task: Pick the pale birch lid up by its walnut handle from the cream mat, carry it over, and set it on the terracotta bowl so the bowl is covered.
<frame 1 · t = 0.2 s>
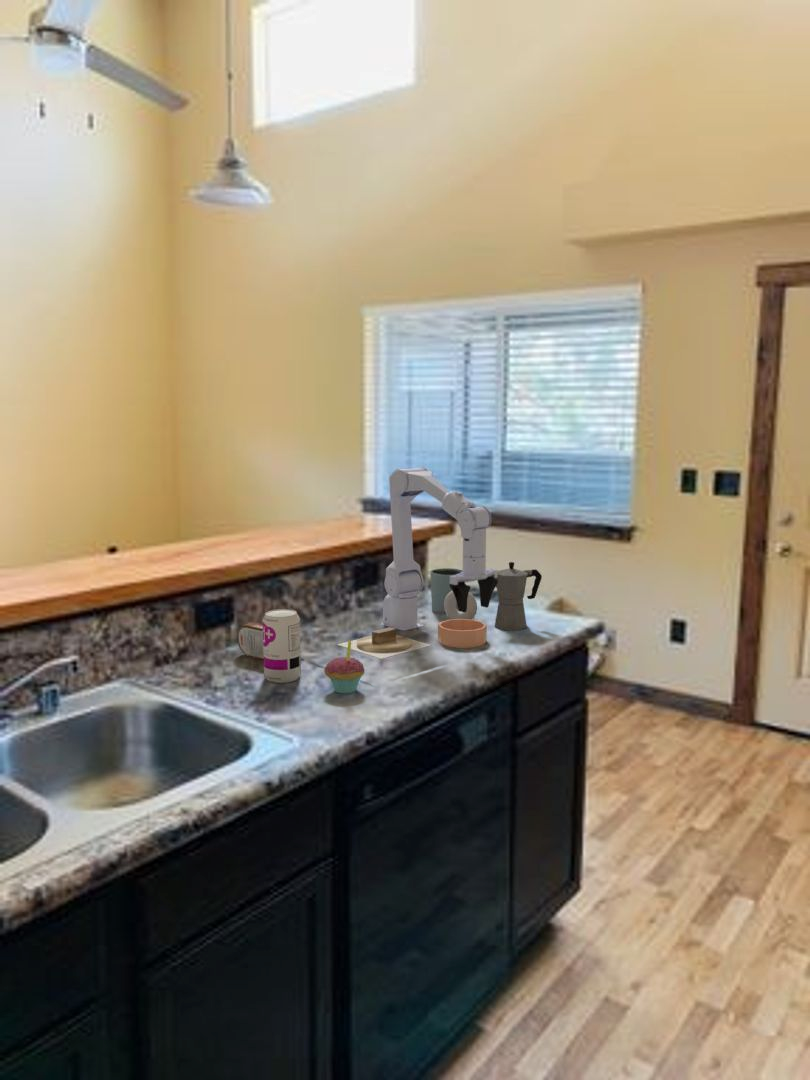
hand: (473, 609, 214), 10 cm above the worktop, tool pointing down, fingers open, 7 cm apart
cupcake: (344, 691, 184), on the worktop
mat: (384, 647, 217), on the worktop
donut: (460, 624, 240), on the worktop
bowl: (462, 643, 220), on the worktop
teal cup: (447, 611, 255), on the worktop
coffeepot: (514, 626, 237), on the worktop
supplement can: (282, 678, 193), on the worktop
lid: (384, 644, 217), point 1 cm above the worktop, touching mat
tin: (262, 659, 208), on the worktop
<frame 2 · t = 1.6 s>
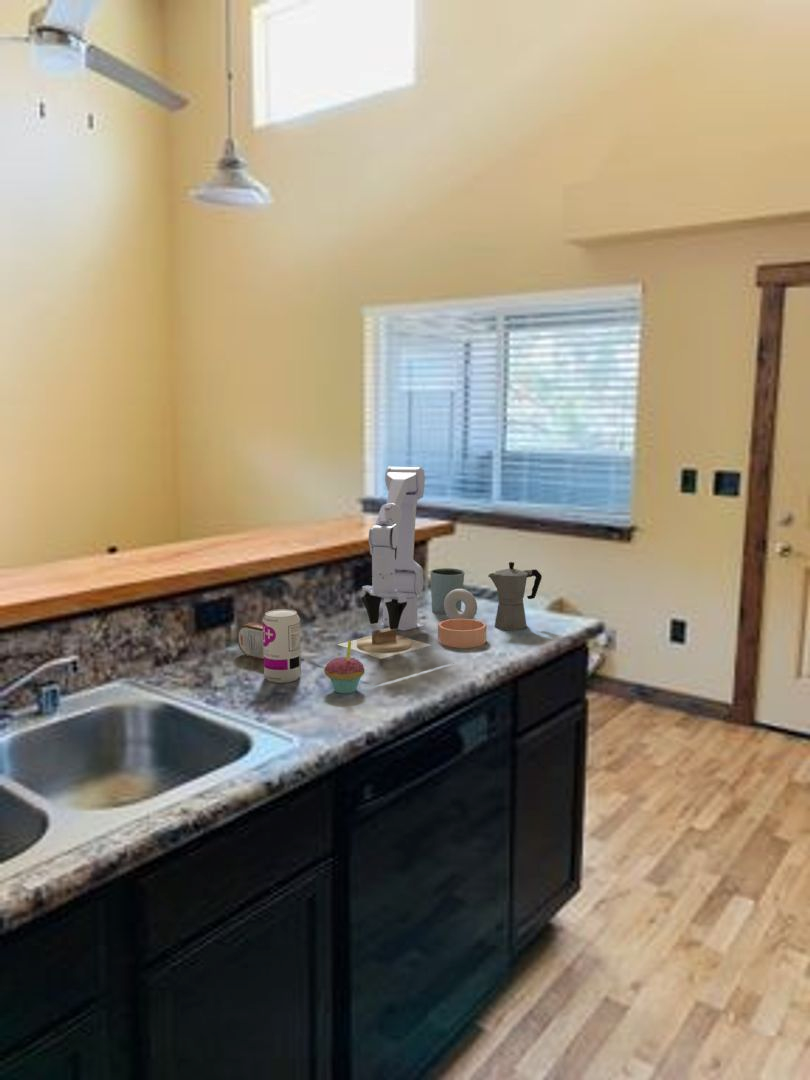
hand: (383, 626, 216), 5 cm above the worktop, tool pointing down, fingers open, 7 cm apart
nothing on the worktop moved.
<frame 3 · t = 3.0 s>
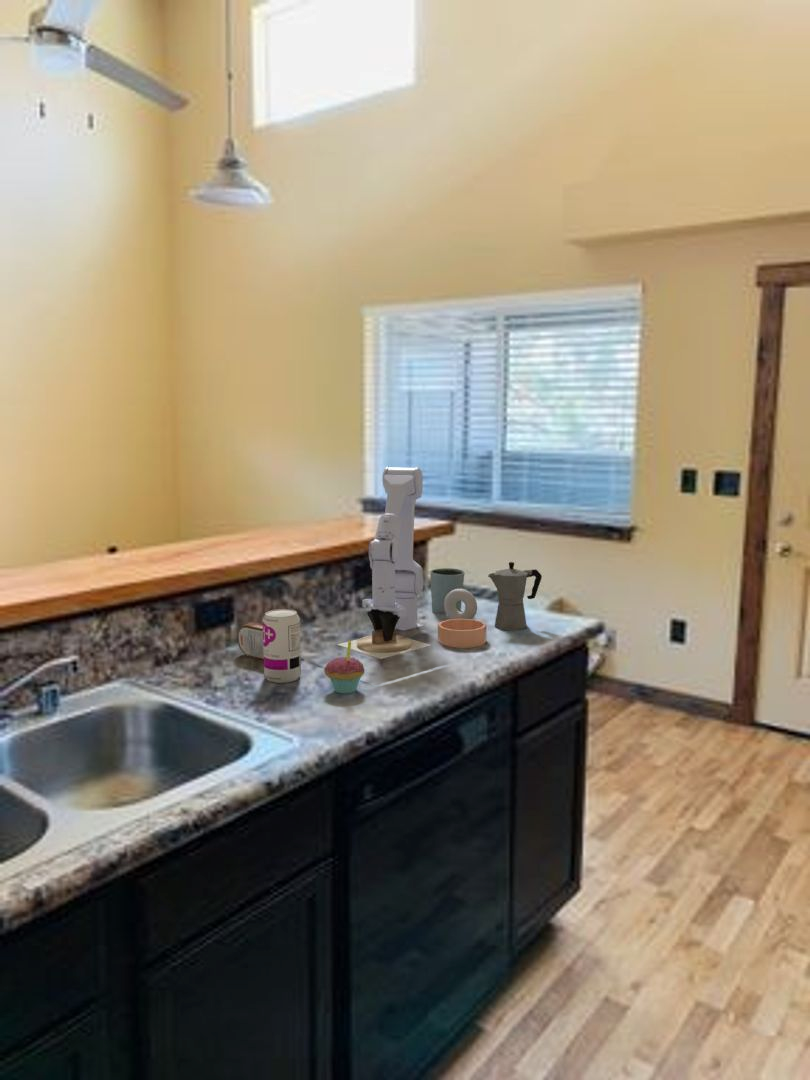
hand: (384, 639, 217), 2 cm above the worktop, tool pointing down, fingers closed on lid, 2 cm apart
lid: (384, 644, 217), point 1 cm above the worktop, touching gripper, mat
everything else where it was.
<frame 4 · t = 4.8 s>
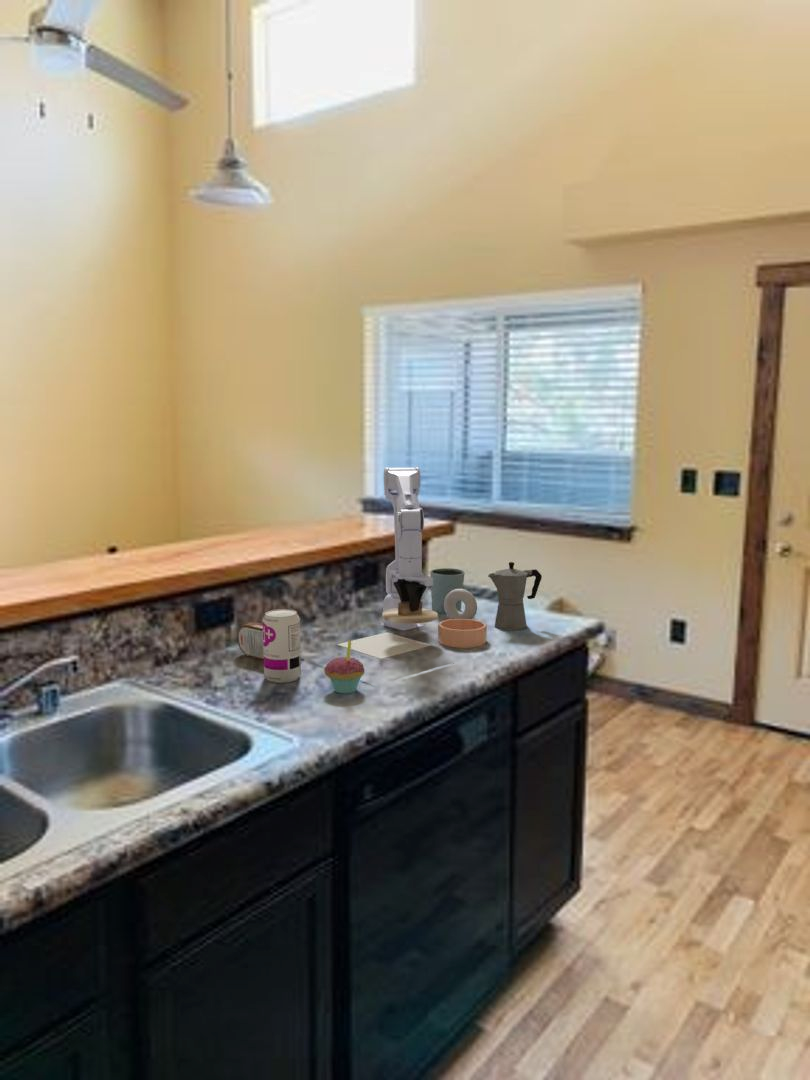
hand: (410, 609, 217), 9 cm above the worktop, tool pointing down, fingers closed on lid, 2 cm apart
lid: (410, 616, 217), point 8 cm above the worktop, touching gripper
everything else where it was.
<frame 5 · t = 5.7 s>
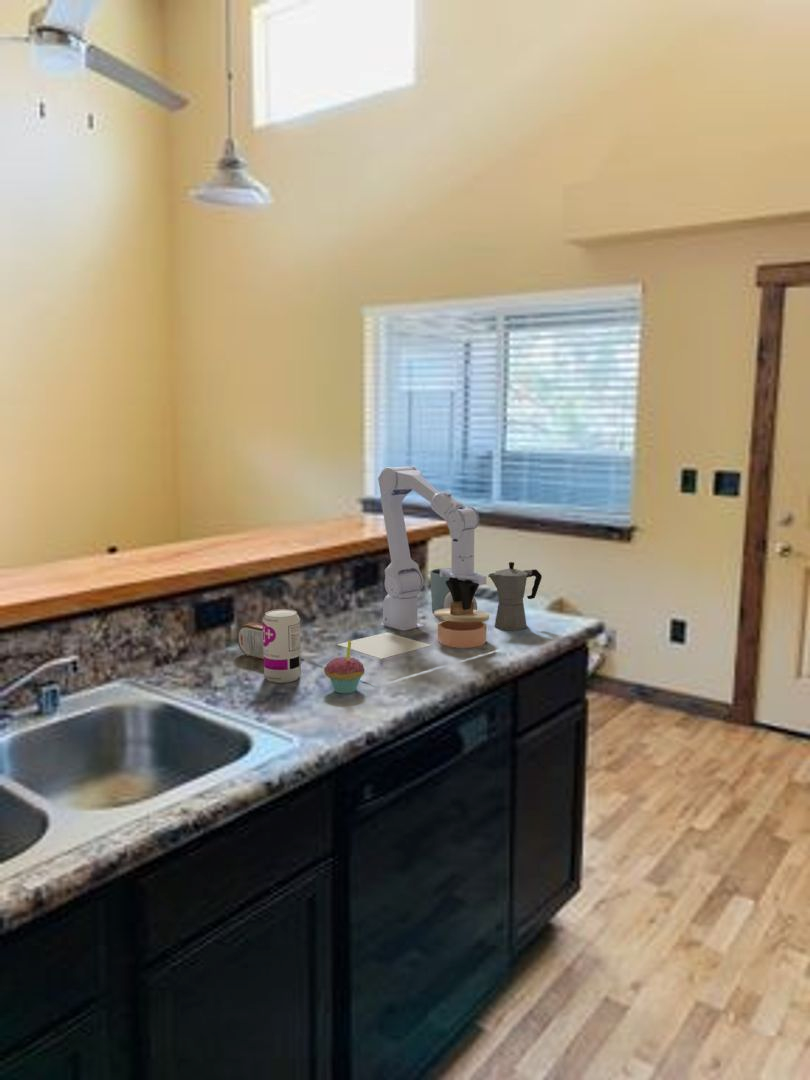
hand: (462, 608, 219), 9 cm above the worktop, tool pointing down, fingers closed on lid, 2 cm apart
lid: (461, 616, 219), point 7 cm above the worktop, touching gripper
everything else where it was.
when the fingers open (8 cm above the worktop, at t = 6.6 s): lid stays where it is, resting on bowl.
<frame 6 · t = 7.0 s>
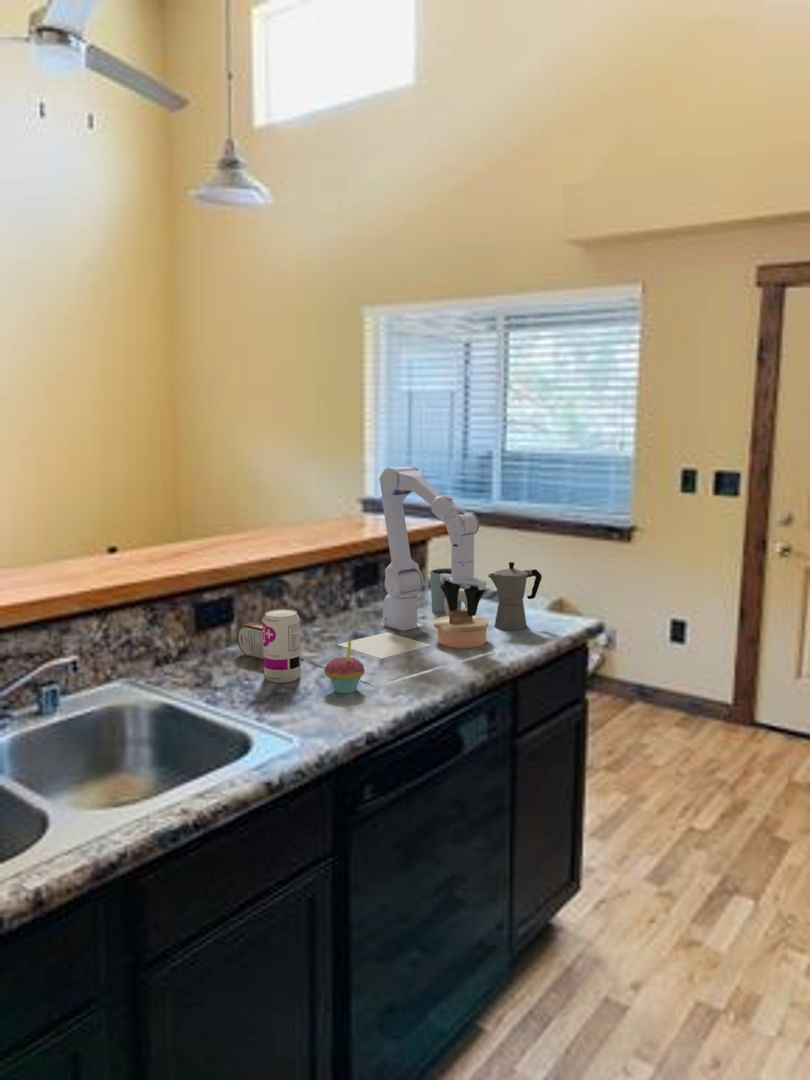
hand: (462, 613, 219), 8 cm above the worktop, tool pointing down, fingers open, 6 cm apart
bowl: (462, 643, 220), on the worktop, touching lid
lid: (460, 624, 219), point 5 cm above the worktop, touching bowl
everything else where it was.
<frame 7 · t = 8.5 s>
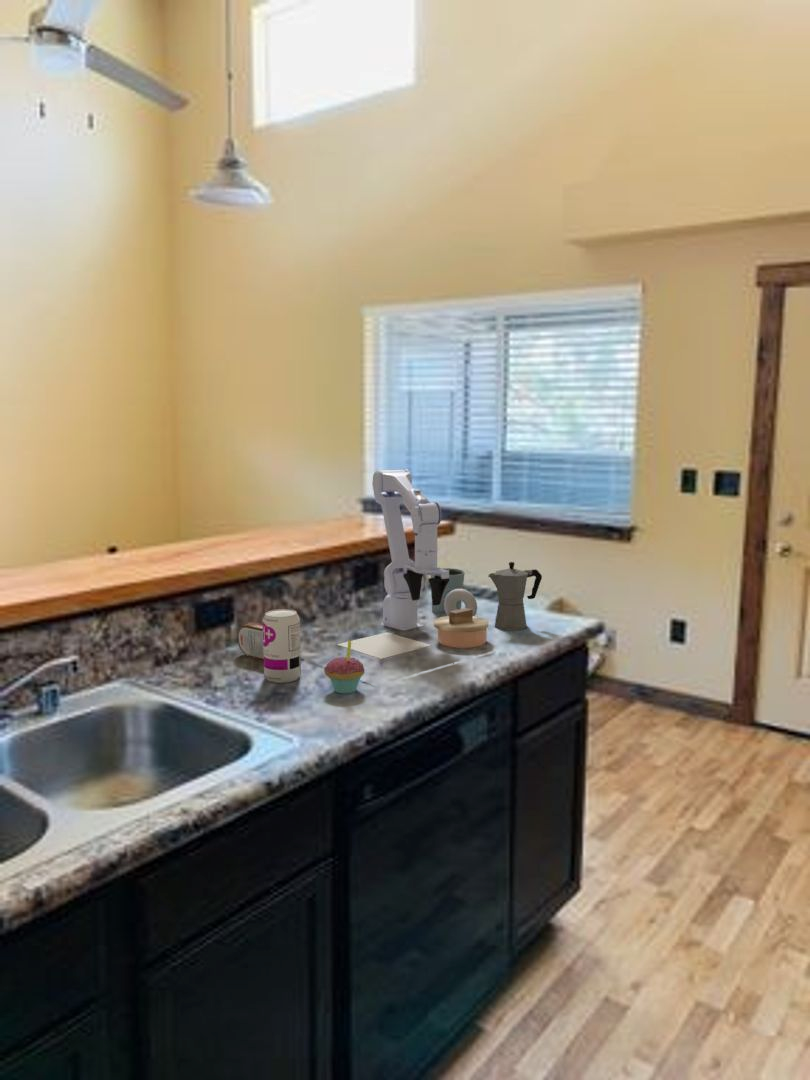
hand: (426, 602, 220), 10 cm above the worktop, tool pointing down, fingers open, 7 cm apart
nothing on the worktop moved.
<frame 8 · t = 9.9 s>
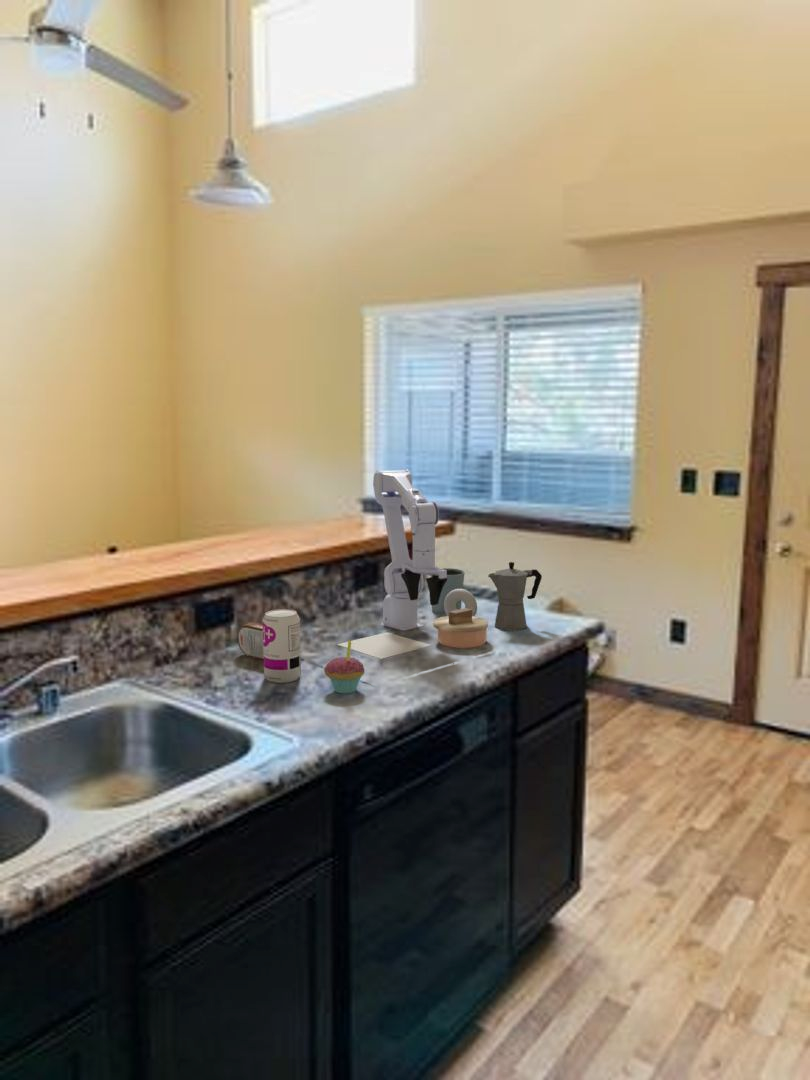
hand: (423, 602, 220), 10 cm above the worktop, tool pointing down, fingers open, 7 cm apart
nothing on the worktop moved.
at the end: lid 0.7 cm off-centre on the bowl, point 5.0 cm above the bowl's base; lid tilted 0°; the gripper is holding nothing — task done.
